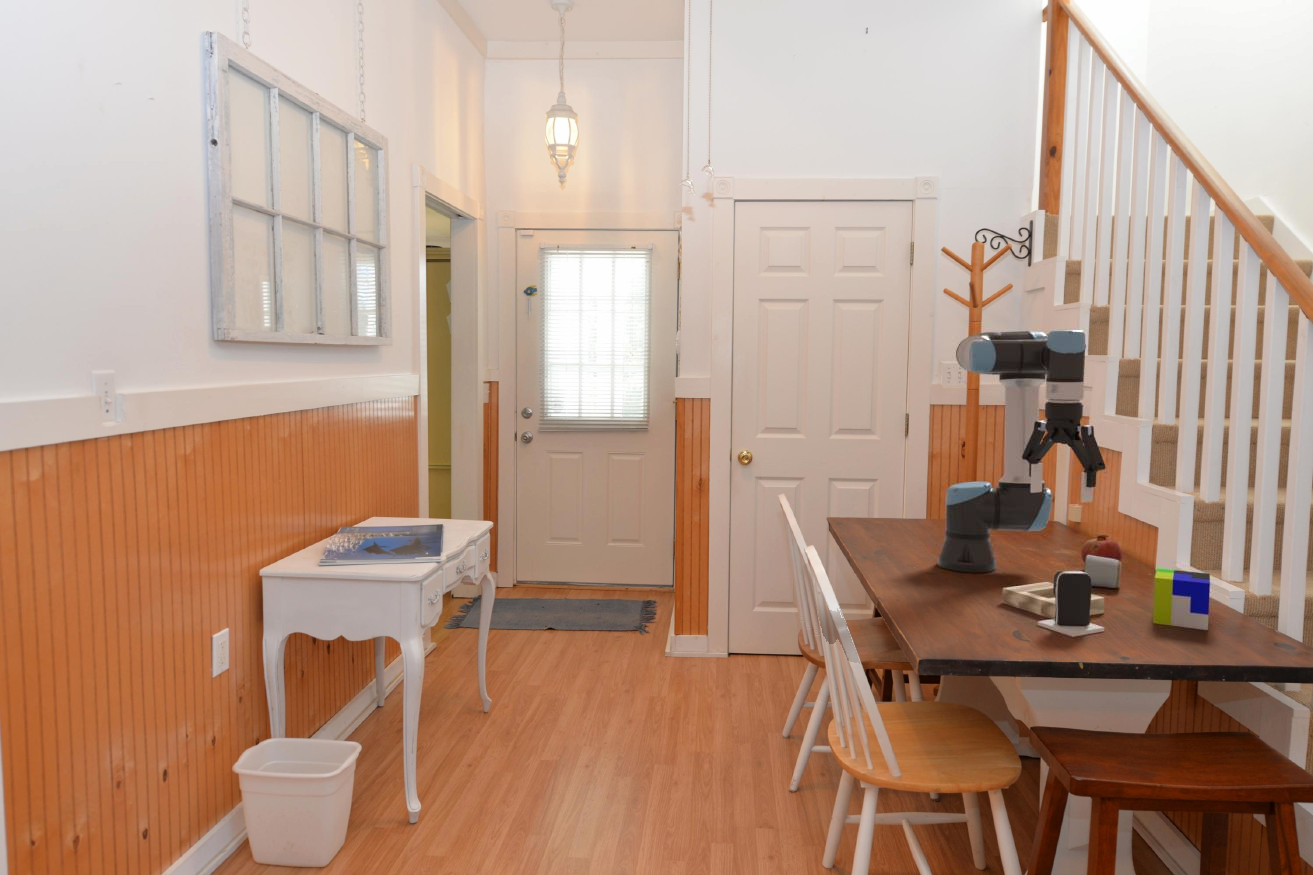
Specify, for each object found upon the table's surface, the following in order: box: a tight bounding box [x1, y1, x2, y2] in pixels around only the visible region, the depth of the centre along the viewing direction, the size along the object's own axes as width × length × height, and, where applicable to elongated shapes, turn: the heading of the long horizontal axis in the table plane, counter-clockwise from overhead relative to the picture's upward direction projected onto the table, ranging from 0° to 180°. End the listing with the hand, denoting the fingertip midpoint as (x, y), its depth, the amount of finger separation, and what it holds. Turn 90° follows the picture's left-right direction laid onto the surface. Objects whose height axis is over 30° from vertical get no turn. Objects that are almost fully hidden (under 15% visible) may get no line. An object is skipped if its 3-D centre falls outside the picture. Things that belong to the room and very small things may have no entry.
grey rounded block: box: [1084, 555, 1122, 589], centre depth 221 cm, size 11×8×8 cm
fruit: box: [1081, 534, 1123, 564], centre depth 234 cm, size 11×10×10 cm
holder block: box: [1002, 581, 1106, 619], centre depth 201 cm, size 16×14×4 cm
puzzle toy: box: [1152, 568, 1211, 631], centre depth 190 cm, size 10×10×10 cm
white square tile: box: [1037, 618, 1105, 638], centre depth 185 cm, size 9×9×1 cm
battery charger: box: [1053, 570, 1092, 626], centre depth 185 cm, size 7×4×11 cm, turn 87°
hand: (1060, 496), depth 194 cm, fingers open, 13 cm apart
